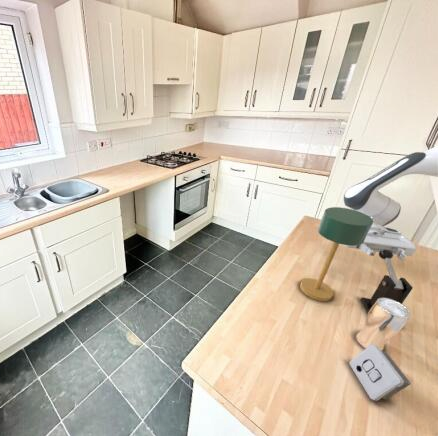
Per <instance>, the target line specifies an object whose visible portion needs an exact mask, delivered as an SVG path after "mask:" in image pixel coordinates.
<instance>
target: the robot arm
mask: <svg viewBox="0 0 438 436" xmlns="http://www.w3.org/2000/svg"><path fill="white" fill-rule="evenodd" d="M408 175H423V176H428V177H429V176H430V177H435V178H438V144H437V145H435V146H433V147H431V148H429V149H427V150H424V151H421V152H420V151H416V152H415V151H414V152H412V153H409V154H407V155H405V156H404V157H402V158H400V159H398V160H397V161H394V162H393V163H392V164H390V165H388V166H386V167H384V168H383V169H381V170H380V171H378V172H377V173H374V174H373V175H372V176H370V177H368V178H367V179H364V180H363V181H361V182H358V183H356V184H354V185H352V186H351V187H349V188H348V189H347V190H346V191H345V192H344V193H343V203H344V206H345V207H347V208H348V209H352V210H356V211H359V212H361V213H364V214H366V215H368V216H369V217H371V218H372V220H373V224H372V226H371V228H370V230H369V232H368V234H367V236H366V238H365V240H364V242H363V243H362V244H361V245H356V246H350V245H343V247H345V248H347V249H353V250H360V251H362V252H363V253H365V254H366V255H367V256H371V257H374V256H375V255H376V253H379V252H380V251H381V250H384V249H386V250H390V251H391V252H392V253H393V255H396V256H395V258H396V259H397V260H400V261H406V259H407V257H413V255H415V253H416V251H417V249H418V247H417V245H416V244H414V242H413V241H411V240H410V239H409V238H408V237H406V236H404V235H402V232H401V231H400V230H398V229H394V228H391V227H387V225H389V224H391V223H393V222H394V221H395V220H397V218H399V216H400V213H401V210H402V209H401V207H402V206H401V204H400V203H399V202H398V201H396V200H394V199H393V198H391V197H389V196H387V195H386V194H384V193H382V192H380V191H379V190H381V189H383V188H384V187H386V186H388V185H390V184H391V183H393V182H395V181H396V180H398V179H401V178H402V177H405V176H408Z"/></svg>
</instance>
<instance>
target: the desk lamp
mask: <svg viewBox="0 0 438 436" xmlns="http://www.w3.org/2000/svg"><path fill="white" fill-rule="evenodd" d="M372 224H373V220H372V218H371V217H369V216H368V215H366V214H364V213H361V212H359V211H356V210H352V209H351V208H348V207H347V208H346V207H339V206H334V207H333V206H332V207H327V208H326V209H324V211H323V214H322V217H321V219H320V222H319V225H318V227H317V232H318V234H319V235H320V236H321V237H323V238H325V239H326V240H328V241H331V242H332V244H331V246H330V249H329V251H328V254H327V256H326V258H325V261H324V263H323V266H322V268H321V270H320V273H319V275H318V278H317V279H316V278H310V277H309V278H304V279H302V281H301V282H300V285H299V286H300V287H299V288H300V290H301V292H302V293H303V294H304V295H306V296H307V297H309V298H311V299H313V300H315V301H319V302H328V301H330V300H331V299H332V298H333V296H334V290H333V289H332V287H331V286H329V285H328V284H327V283H326V282H325V281H324V280H325V278H326V275H327V274H328V272H329V271H328V270H329V268H330V266H331V264H332V262H333V259H334V257H335V254H336V253H337V250H338V248H339V246H340V245H342V246H344V245H350V246H356V245H361V244H362V243H363V242H364V240H365V238H366V236H367V234H368V232H369V230H370V228H371V226H372Z"/></svg>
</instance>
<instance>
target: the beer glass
mask: <svg viewBox="0 0 438 436" xmlns="http://www.w3.org/2000/svg"><path fill="white" fill-rule="evenodd" d="M410 316H411V311H410V310H409V309H408V308H407V307H406V306H405V305H404V304H403V303H402V304H401V303H399V302H397V301H395V300H392V299H389V298H379V299H377V301H376V302H375V303H374V305H373V306H372V307H371V309H370V311H369V312H367V315H366V318H365V322H364V325H363V327H362V329H361V330H360V331H359V332H358V333H357V334H356V338H355V339H356V341H357V342H358V343H359V345H361V346H362V347H363V348H364V349H366V348H367V347H369V346H370V345H376V346H378V348H379V349H380V350H381V351H384V348H385V345H386V343H387V341H389V340H390V339H391V338H393V337H394V336H396V335H397V334H398V333H399V332H401V330H402V329H403V328H404V326H405V325H406V323H407V322H408V319H409V317H410Z"/></svg>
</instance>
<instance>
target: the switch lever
mask: <svg viewBox="0 0 438 436" xmlns="http://www.w3.org/2000/svg"><path fill="white" fill-rule="evenodd" d="M378 256H379V258H380V259H382V260H384V263H385V266H386V270H387V273H388V276H389V277H390V278H391V279H392V281H393V282H394V283H395V284H396V286H395V288H394V289H393V291H397V292H399V291H401V290H403V289H404V288H403V285H402V282H401V280H399V279H397V275H396V273H395V269H394V266H393V263H392V260H391V259H392V258H393V256H394V254H393V253H392V252H391V251H390V250H386V249H384V250H381V251H380V252H378Z"/></svg>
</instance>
